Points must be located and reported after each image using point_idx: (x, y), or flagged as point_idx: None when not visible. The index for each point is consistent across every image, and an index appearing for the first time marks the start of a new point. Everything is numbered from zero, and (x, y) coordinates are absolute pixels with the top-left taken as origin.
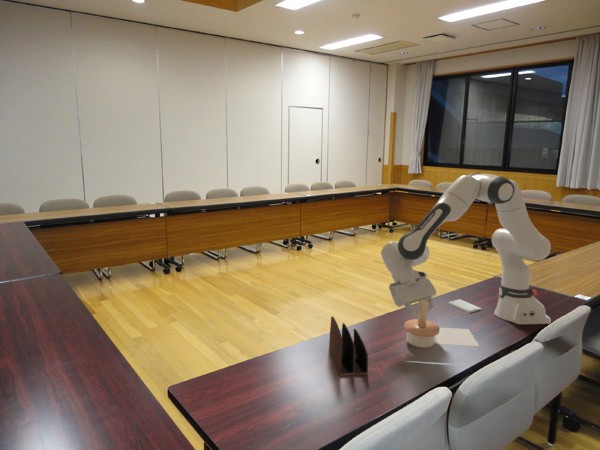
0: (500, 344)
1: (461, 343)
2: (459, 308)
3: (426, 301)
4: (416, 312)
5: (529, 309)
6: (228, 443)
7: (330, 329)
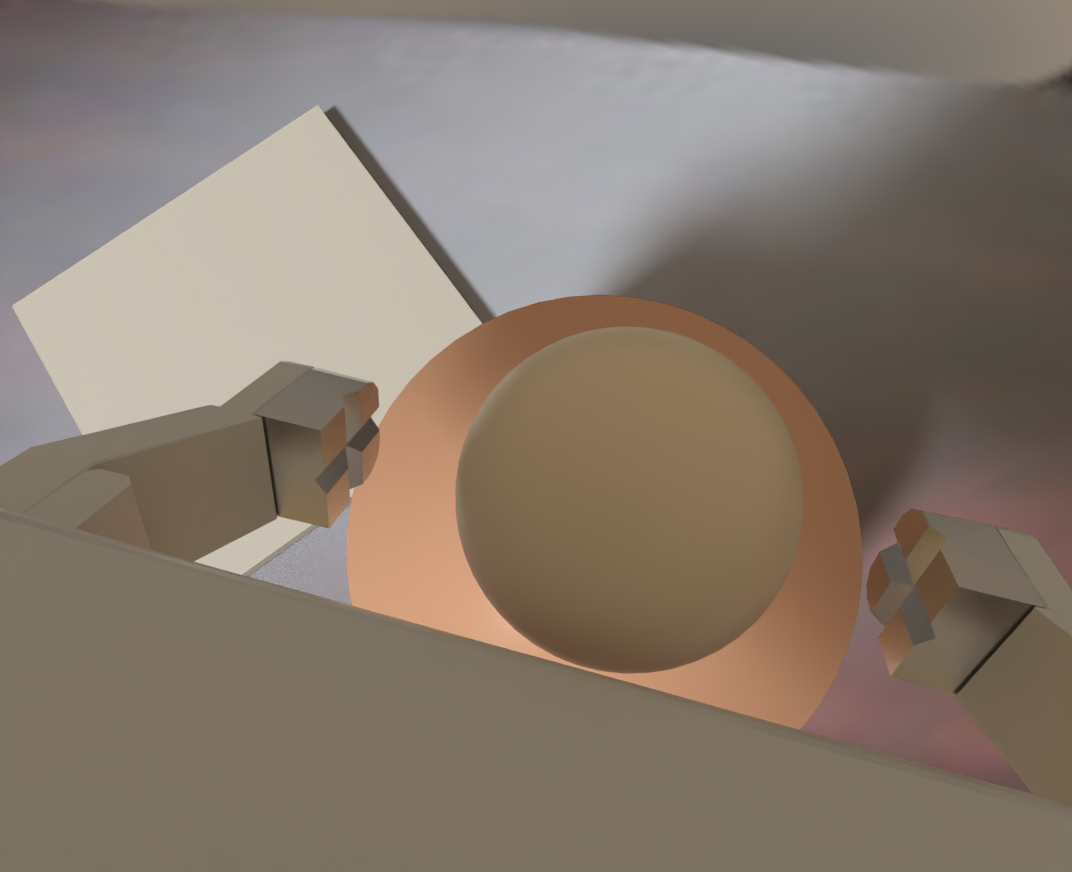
0: (149, 31)
1: (364, 230)
2: None
3: (638, 349)
4: (975, 524)
5: None
6: None
7: None
